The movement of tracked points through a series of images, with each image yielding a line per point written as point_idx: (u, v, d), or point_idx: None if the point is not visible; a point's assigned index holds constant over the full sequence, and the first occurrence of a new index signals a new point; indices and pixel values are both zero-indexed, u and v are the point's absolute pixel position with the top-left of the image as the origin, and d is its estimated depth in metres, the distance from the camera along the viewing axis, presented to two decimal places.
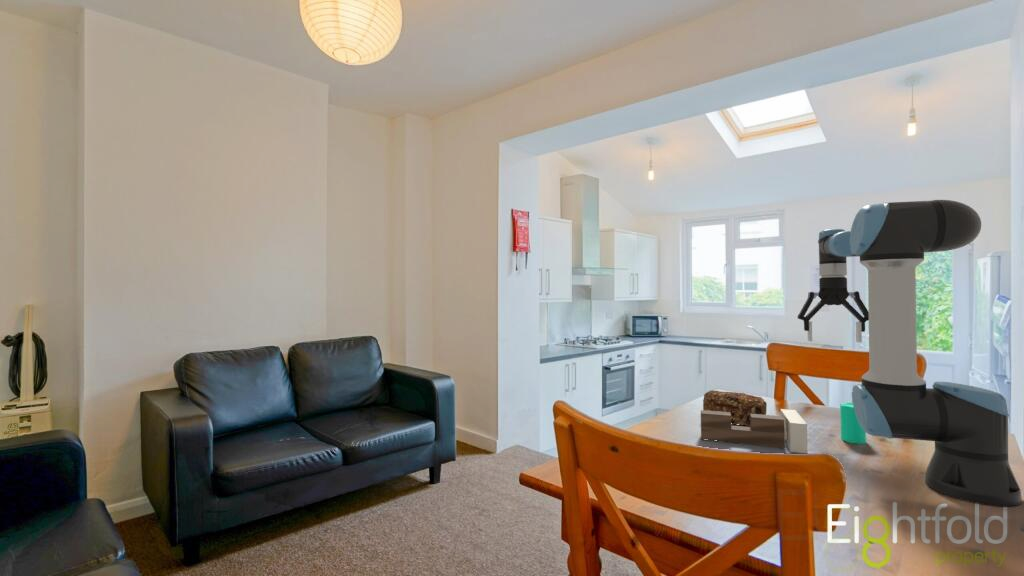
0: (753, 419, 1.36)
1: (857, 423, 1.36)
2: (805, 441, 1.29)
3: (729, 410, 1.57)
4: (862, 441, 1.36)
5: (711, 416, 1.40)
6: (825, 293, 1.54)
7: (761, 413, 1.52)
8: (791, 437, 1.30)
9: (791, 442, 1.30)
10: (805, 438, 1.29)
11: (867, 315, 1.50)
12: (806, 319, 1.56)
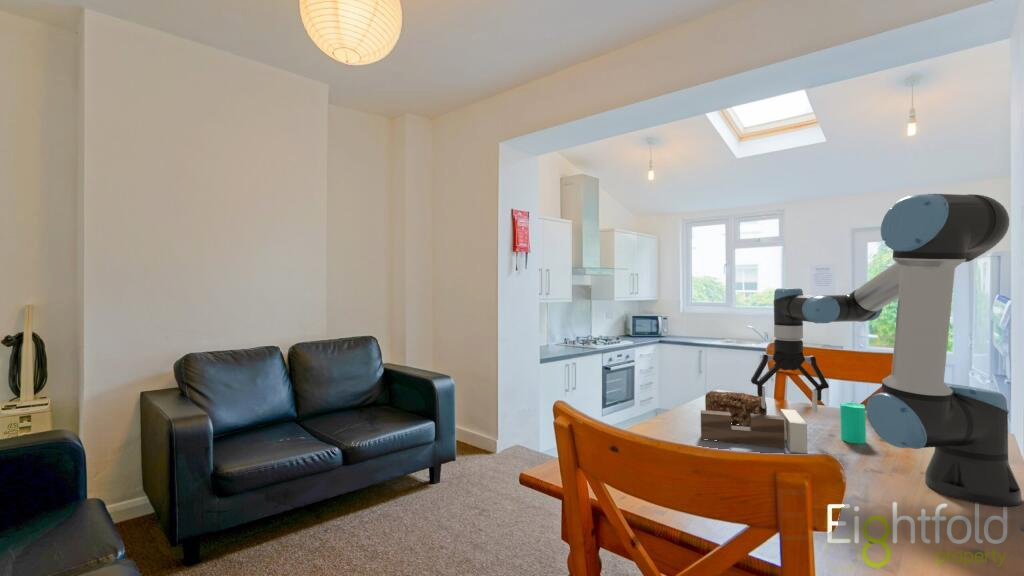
0: (753, 419, 1.36)
1: (857, 423, 1.36)
2: (805, 441, 1.29)
3: (732, 411, 1.56)
4: (862, 441, 1.36)
5: (711, 416, 1.40)
6: (780, 357, 1.42)
7: (765, 412, 1.52)
8: (791, 437, 1.30)
9: (791, 442, 1.30)
10: (805, 438, 1.29)
11: (824, 383, 1.38)
12: (759, 384, 1.44)
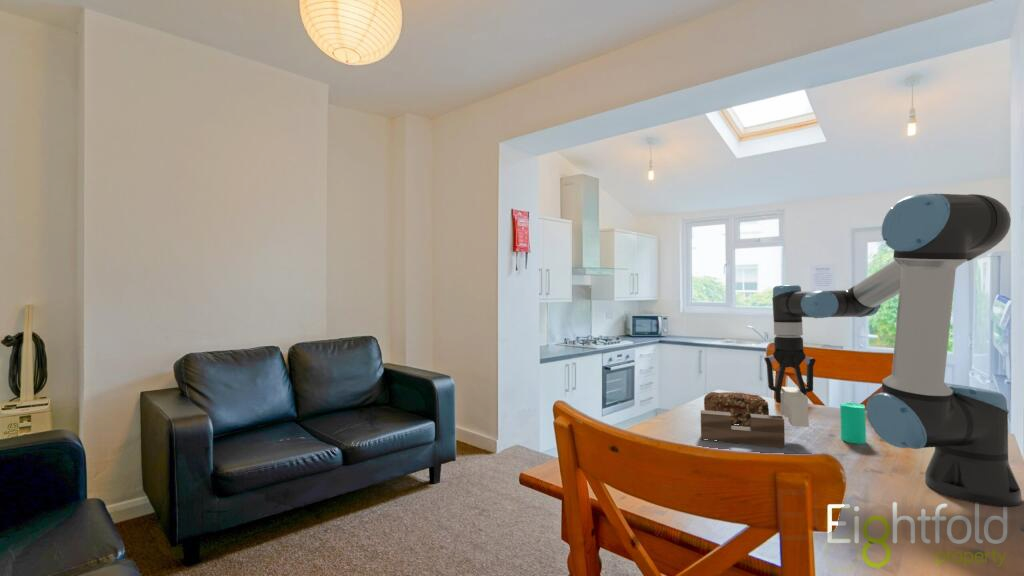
0: (753, 419, 1.36)
1: (857, 423, 1.36)
2: (806, 415, 1.28)
3: (736, 411, 1.56)
4: (862, 441, 1.36)
5: (711, 416, 1.40)
6: (779, 353, 1.42)
7: (768, 411, 1.54)
8: (792, 411, 1.30)
9: (792, 416, 1.30)
10: (806, 411, 1.28)
11: (809, 386, 1.38)
12: (777, 390, 1.41)
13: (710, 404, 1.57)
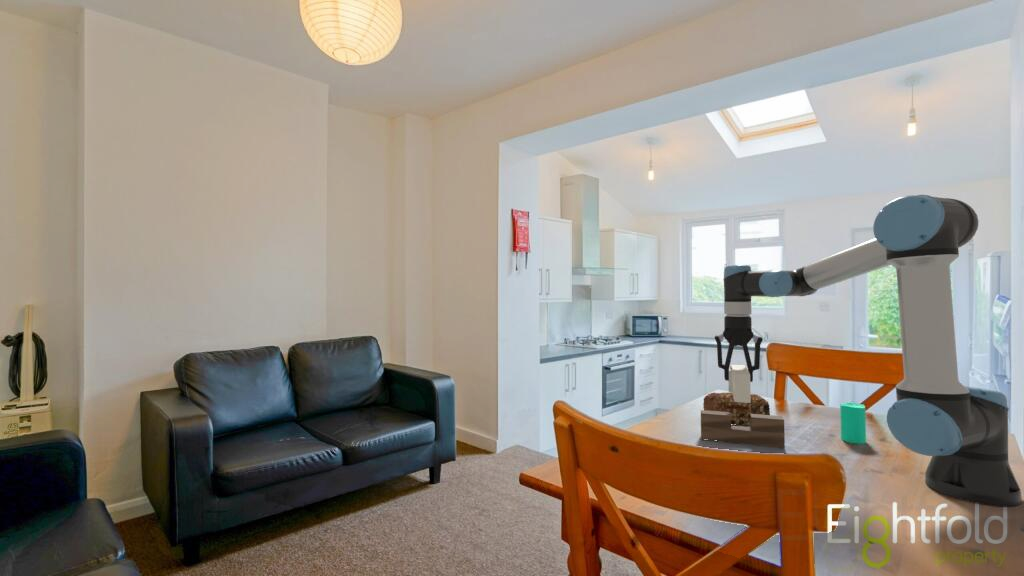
0: (753, 419, 1.36)
1: (857, 423, 1.36)
2: (748, 391, 1.31)
3: (739, 411, 1.55)
4: (862, 441, 1.36)
5: (711, 416, 1.40)
6: (728, 332, 1.44)
7: None
8: (735, 387, 1.33)
9: (735, 392, 1.33)
10: (748, 388, 1.31)
11: (756, 364, 1.41)
12: (726, 368, 1.44)
13: (713, 405, 1.56)
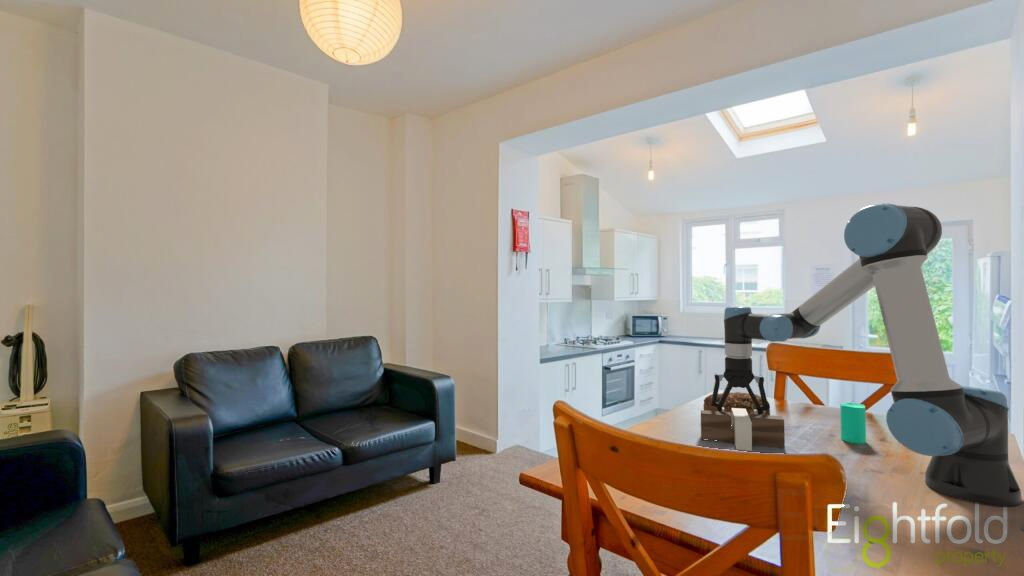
0: (753, 419, 1.36)
1: (857, 423, 1.36)
2: (749, 439, 1.31)
3: None
4: (862, 441, 1.36)
5: (711, 416, 1.40)
6: (729, 374, 1.44)
7: (769, 409, 1.56)
8: (736, 435, 1.32)
9: (736, 440, 1.32)
10: (750, 436, 1.31)
11: (764, 404, 1.40)
12: (719, 406, 1.45)
13: None
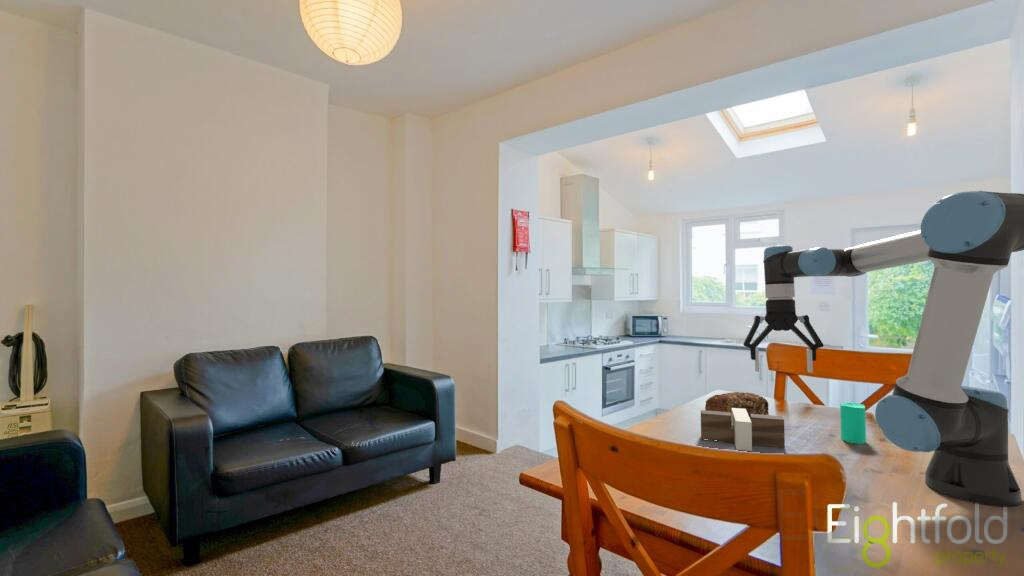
0: (753, 419, 1.36)
1: (857, 423, 1.36)
2: (749, 439, 1.31)
3: (747, 411, 1.55)
4: (862, 441, 1.36)
5: (711, 416, 1.40)
6: (772, 317, 1.37)
7: None
8: (736, 435, 1.32)
9: (736, 440, 1.32)
10: (750, 436, 1.31)
11: (818, 342, 1.33)
12: (752, 347, 1.39)
13: (727, 408, 1.52)
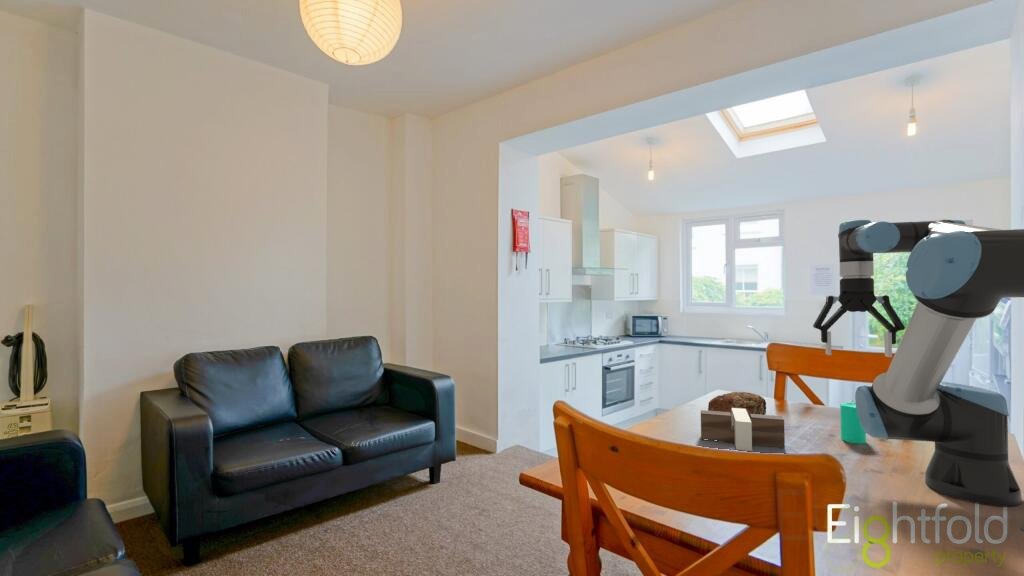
0: (753, 419, 1.36)
1: (857, 423, 1.36)
2: (749, 439, 1.31)
3: (750, 411, 1.55)
4: (862, 441, 1.36)
5: (711, 416, 1.40)
6: (847, 297, 1.28)
7: (765, 406, 1.60)
8: (736, 435, 1.32)
9: (736, 440, 1.32)
10: (750, 436, 1.31)
11: (899, 324, 1.24)
12: (824, 328, 1.30)
13: None
